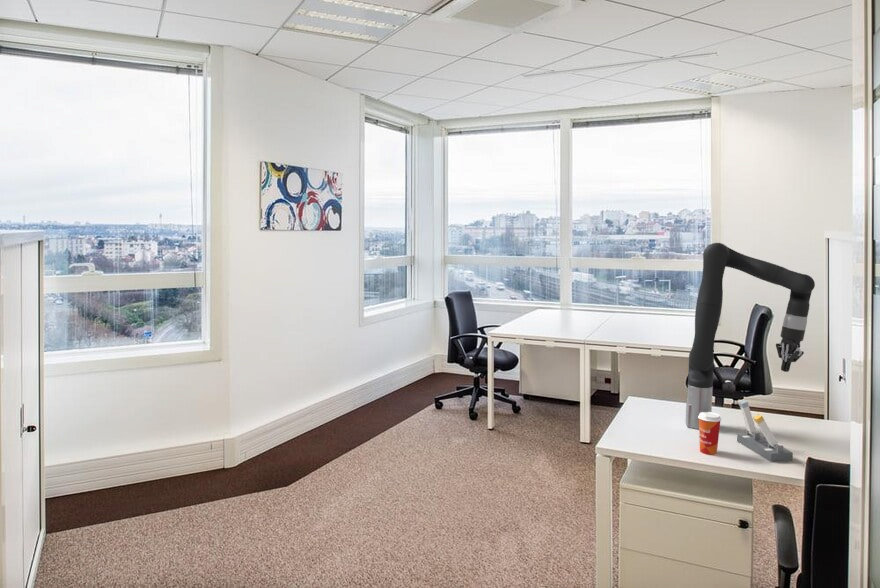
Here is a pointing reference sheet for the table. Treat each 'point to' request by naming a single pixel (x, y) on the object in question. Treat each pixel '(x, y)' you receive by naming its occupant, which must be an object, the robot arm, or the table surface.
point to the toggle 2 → (765, 430)
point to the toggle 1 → (747, 417)
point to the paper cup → (709, 432)
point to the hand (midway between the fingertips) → (784, 371)
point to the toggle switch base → (764, 447)
